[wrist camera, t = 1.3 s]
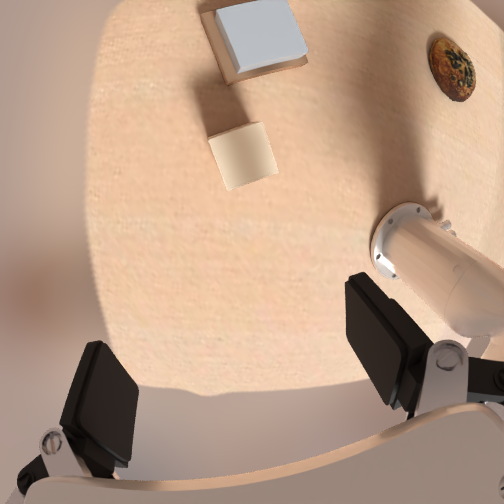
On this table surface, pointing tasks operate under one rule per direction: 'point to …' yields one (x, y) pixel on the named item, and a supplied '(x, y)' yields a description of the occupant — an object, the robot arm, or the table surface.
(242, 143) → the beech block
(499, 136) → the table surface
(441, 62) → the bread roll
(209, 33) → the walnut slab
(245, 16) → the grey slab
